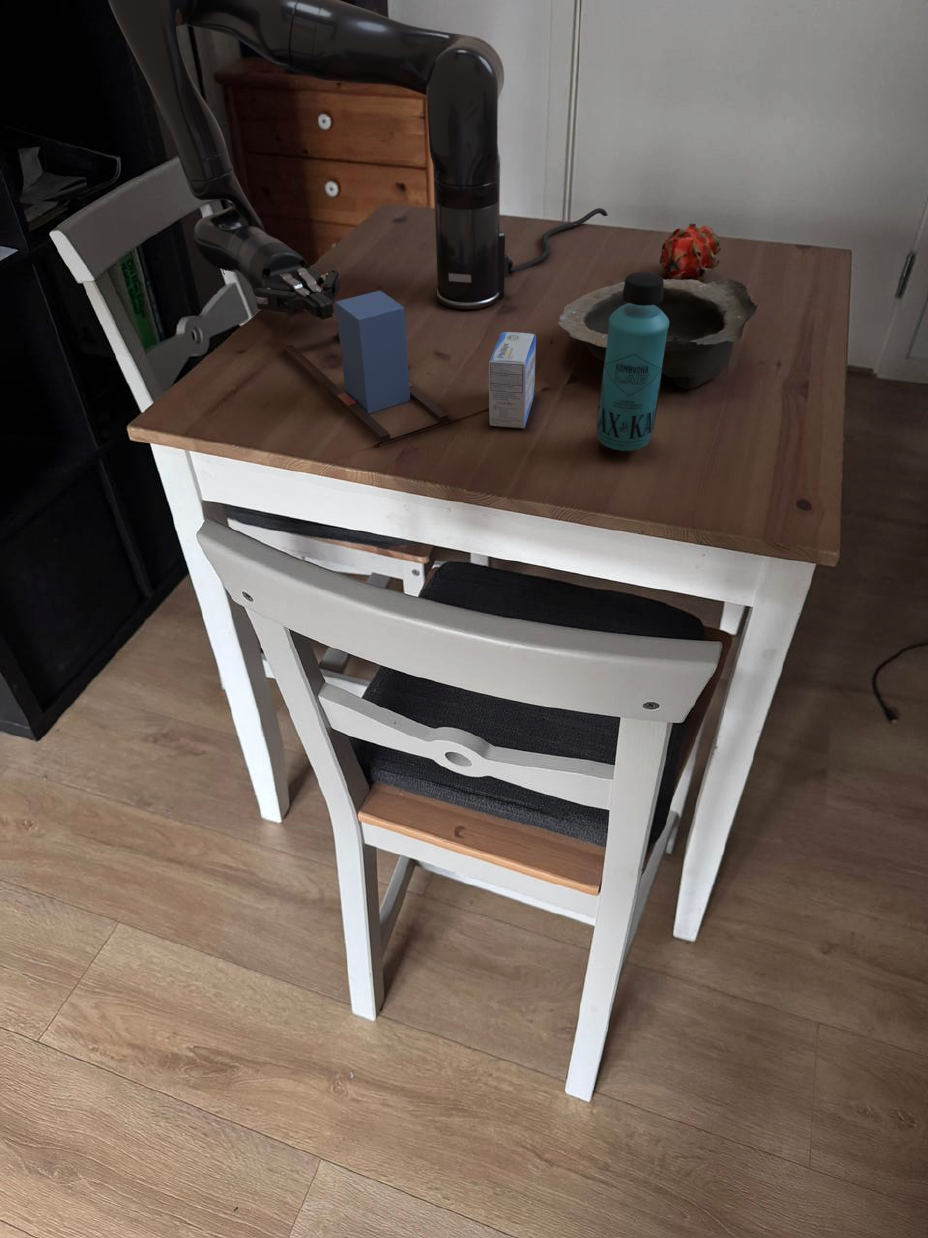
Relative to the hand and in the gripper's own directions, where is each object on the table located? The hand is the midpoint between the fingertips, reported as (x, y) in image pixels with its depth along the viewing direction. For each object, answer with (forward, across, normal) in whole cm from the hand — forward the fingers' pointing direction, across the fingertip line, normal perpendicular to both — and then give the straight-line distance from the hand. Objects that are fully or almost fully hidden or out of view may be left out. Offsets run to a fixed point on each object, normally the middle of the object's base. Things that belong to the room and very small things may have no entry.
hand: (326, 311), depth 116 cm
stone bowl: (+24, +35, +7) cm, 43 cm away
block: (+13, 0, +6) cm, 15 cm away
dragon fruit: (+6, +58, +7) cm, 59 cm away
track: (+8, 0, +7) cm, 11 cm away
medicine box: (+25, +12, +7) cm, 28 cm away
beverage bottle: (+39, +18, +7) cm, 43 cm away
